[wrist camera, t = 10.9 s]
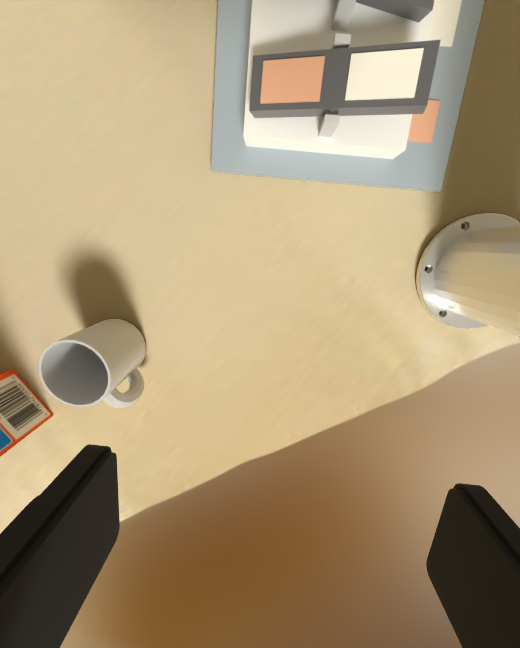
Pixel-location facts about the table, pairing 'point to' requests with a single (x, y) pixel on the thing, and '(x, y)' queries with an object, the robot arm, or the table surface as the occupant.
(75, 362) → the cup
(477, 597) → the robot arm
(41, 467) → the table surface
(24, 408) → the orange cereal box
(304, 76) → the rocker
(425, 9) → the rocker
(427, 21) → the switch unit
